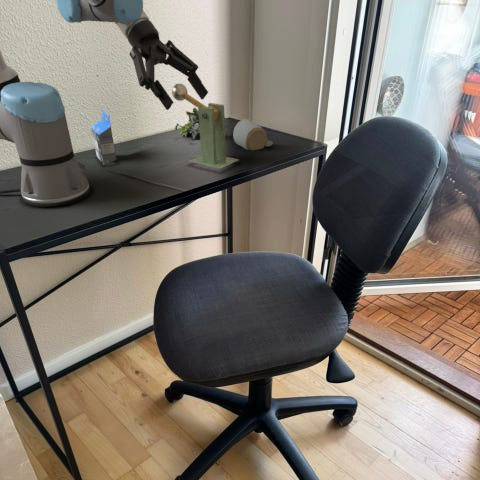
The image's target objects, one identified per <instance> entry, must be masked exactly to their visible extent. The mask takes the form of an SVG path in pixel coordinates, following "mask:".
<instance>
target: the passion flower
mask: <svg viewBox="0 0 480 480" xmlns="http://www.w3.org/2000/svg"><path fill="white" fill-rule="evenodd" d="M185 114H186V115H187V116H188V123H185V124H184V125H183V126H182V125H180V124H179V123H176V124H175V127H174V130H175V131H177V130H178V127H180V129H179V134H180V136H182V135H183V133H184V139H187V137H188V135H189V134H191V137H192V139H191V140H192V141H194V140H195V139H196V138H197V136H198V135H199V133H200V128H199V126H198V127H197V129H195V126H196V125H199V113H198V108H197V107H193V108H192V111H188V110H185Z"/></svg>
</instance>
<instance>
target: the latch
mask: <svg viewBox="0 0 480 480" xmlns="http://www.w3.org/2000/svg"><path fill="white" fill-rule="evenodd" d="M171 95H172V97H173V98H174V99H175V100H176V101H179V102H182V101H184V100H186V101H187V102H189V104H192V105H193V106H194V107H195V108H196V109H198V107H199V106H203V107H210V108H214V107H213V106H208V105H207V106H206V105H205V104H204V103H202V102H201V101H199V100H198V99H195V98H194V97H192V96H191V95H189V94H188V88H187V87H186V85H184V84H183V83H176V84H174V85H173V86H172V89H171ZM218 114H219V110H217V109H216V108H214V116H215V120H217V118H218Z"/></svg>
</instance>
